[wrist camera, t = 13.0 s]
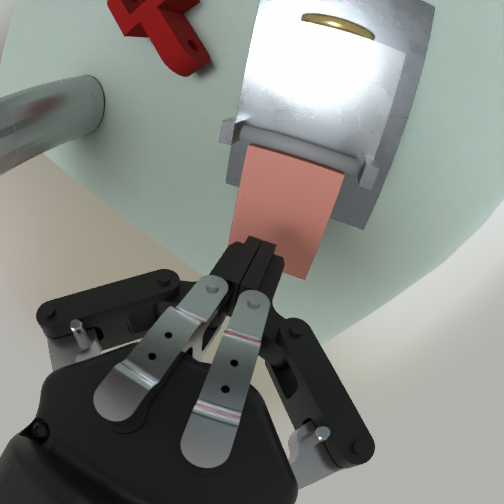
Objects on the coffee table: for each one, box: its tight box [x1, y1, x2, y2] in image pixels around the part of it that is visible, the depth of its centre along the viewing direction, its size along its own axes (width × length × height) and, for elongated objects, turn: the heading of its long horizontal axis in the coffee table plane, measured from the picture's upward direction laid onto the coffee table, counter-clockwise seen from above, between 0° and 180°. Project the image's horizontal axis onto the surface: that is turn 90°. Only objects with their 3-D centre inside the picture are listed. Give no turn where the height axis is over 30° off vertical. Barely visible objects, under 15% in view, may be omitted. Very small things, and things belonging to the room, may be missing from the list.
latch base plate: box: [219, 0, 435, 230], centre depth 17 cm, size 16×26×12 cm, turn 169°
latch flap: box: [228, 125, 360, 280], centre depth 18 cm, size 7×9×1 cm
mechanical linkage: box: [107, 0, 210, 77], centre depth 19 cm, size 16×7×5 cm, turn 28°
